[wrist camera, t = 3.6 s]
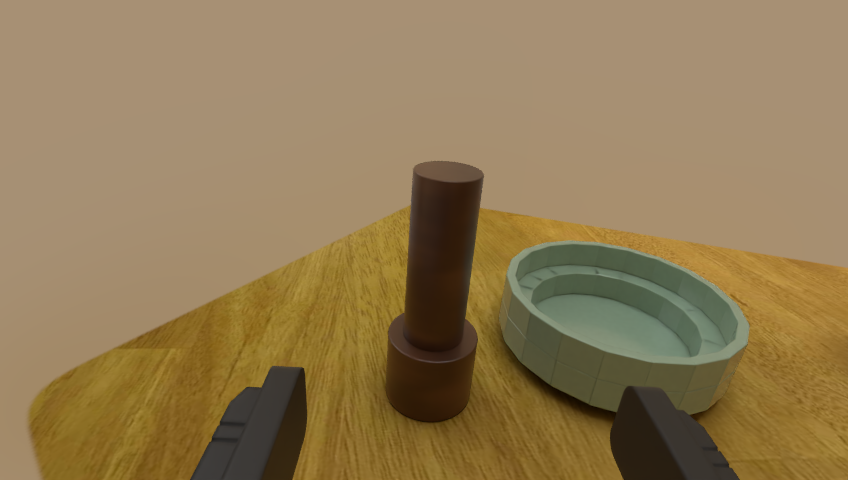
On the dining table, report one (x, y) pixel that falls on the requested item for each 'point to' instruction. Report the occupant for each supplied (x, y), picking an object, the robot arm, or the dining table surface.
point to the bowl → (620, 324)
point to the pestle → (436, 295)
